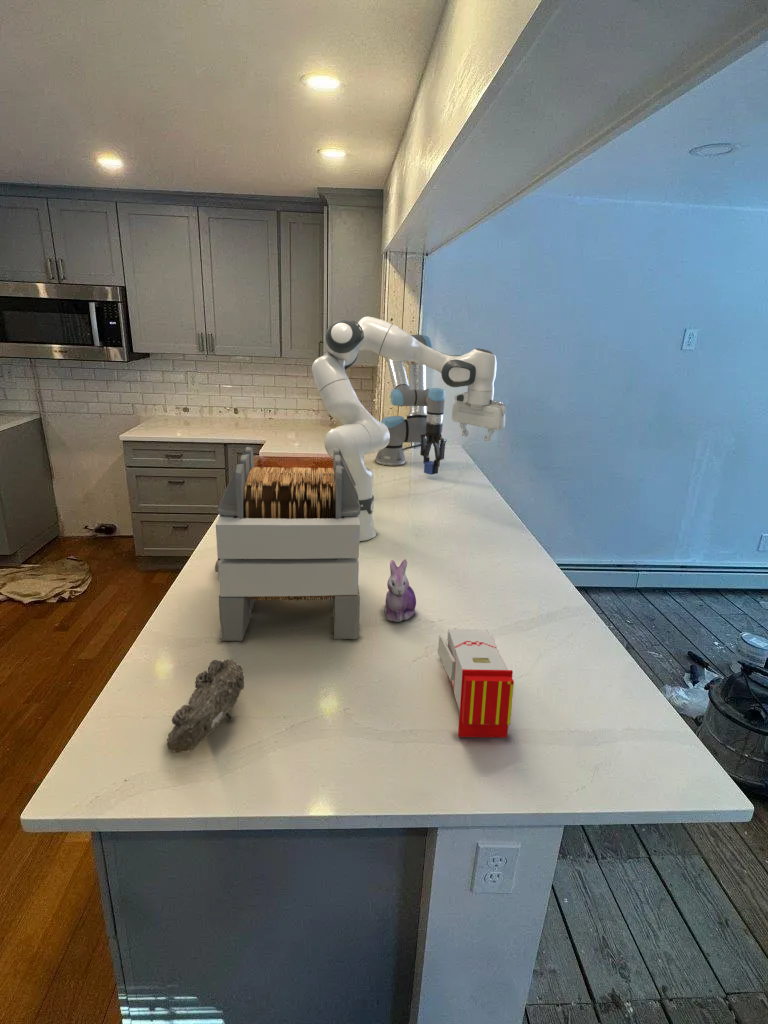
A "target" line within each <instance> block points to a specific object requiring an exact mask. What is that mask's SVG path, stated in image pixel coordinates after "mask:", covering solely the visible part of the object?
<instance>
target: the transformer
mask: <svg viewBox="0 0 768 1024" xmlns="http://www.w3.org/2000/svg"><path fill="white" fill-rule="evenodd" d="M332 460H333V462H332V463H333V464H332V465H333V467H327V468H325V467H317V468H312V467H291V468H285V466H283V467H282V466H281V467H279V466H278V467H277V466H276V467H275V466H271V467H266V466H263V467H260V466H255V461H254V447H253V446H252V447H251V446H245V447H244V450H243V453H241V456H240V459H239V461H238V463H237V464H236V466H235V468H234V470H233V473H232V474H231V477H230V479H229V482H228V483H227V486H226V488H225V490H224V493H223V495H222V497H221V499H220V501H219V504H218V507H217V512H218V513H217V514H218V515H219V517H218V519H217V520H216V523H215V536H216V537H215V539H216V552H217V553H216V554H217V560H218V559H220V561H219V563H218V571H219V572H218V586H219V587H218V588H219V595H218V613H219V614H218V615H219V624H220V635H221V636H220V637H221V638H219V639H220V641H221V642H227V641H234V642H235V641H236V642H237V641H243V639H244V636H245V635H246V632H247V630H248V626H249V625H250V622H251V611H253V609H254V604H255V601H293V600H294V601H309V600H310V601H313V600H314V601H317V600H320V601H321V600H332V609H333V634H334V635H333V636H334V638H333V639H335V640H356V639H358V638H359V637H360V604H361V603H360V601H361V595H360V588H359V587H360V586H359V571H360V570H359V569H360V562H359V557H360V541H359V539H360V522H359V517H358V515H359V514H360V504H359V499H358V494H357V489H356V484H355V482H354V480H353V478H352V475H351V473H350V471H349V469H348V467H347V464H346V462H345V460H344V458H343V456H342V453H341V451H340V449H339V448H334V459H332Z"/></svg>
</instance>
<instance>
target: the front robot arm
mask: <svg viewBox="0 0 768 1024" xmlns="http://www.w3.org/2000/svg"><path fill="white" fill-rule="evenodd" d="M411 335H412V334H410V333H409V332H407V331H406V330H404V329H402V328H401V327H399V326H397V325H396V324H393V323H391V322H388V321H387V320H383V319H380V318H378V317H377V318H376V317H373V316H364V317H361V318H360V319H359V321H358V322H357V321H356V320H344V319H343V320H342V319H341V320H340V319H339V320H335V321H334V322H332V323H331V324H329V326H328V327H327V330H326V333H325V353H324V354H323V355H321V356H319V357H318V358H316V359H314V361H313V362H312V365H311V373H312V378H313V381H314V384H315V387H316V389H317V392H318V394H319V397H320V399H321V401H322V403H323V406H324V408H325V410H326V413H327V414H328V416H330V417H331V418H332V419H334V420H336V421H338V422H340V424H341V425H339V426H336V427H334V428H331V429H330V430H329V431H328V432H327V433H326V434H325V436H324V443H323V444H324V449H325V451H326V453H327V454H328V455H329V457H331V458H332V460H334V448H339V449H340V451H341V453H342V456H343V458H344V460H345V462H346V464H347V467H348V469H349V471H350V473H351V475H352V478H353V480H354V482H355V484H356V489H357V494H358V499H359V504H360V514H359V515H358V517H359V522H360V539H359V542H365V541H368V540H372V539H373V538H375V537H376V535H377V532H376V528H375V523H374V513H373V512H374V509H375V496H374V473H373V471H372V470H371V469H369V468H368V467H366V465H365V460H364V458H365V456H368V455H372V454H375V453H376V454H377V453H378V451H380V450H382V449H383V448H385V447H386V446H387V445H388V443H389V440H390V433H389V430H388V428H387V426H386V425H385V424H384V423H382V422H381V421H380V420H378V419H377V418H376V417H374V416H373V415H372V414H371V413H370V412H369V411H368V410H367V409H366V408H365V406H364V405H363V404H362V403H361V401H360V399H359V397H358V396H357V394H356V391H355V389H354V388H353V385H352V383H351V380H350V378H349V377H348V375H347V372H346V370H347V369H350V367H352V366H353V365H354V364H355V363H356V361H357V359H358V356H359V352H360V351H369V352H372V353H373V354H376V355H378V356H380V357H382V358H384V359H385V358H387V359H390V360H394V361H398V362H406V361H413V362H418V363H421V364H423V365H425V366H426V367H428V368H429V369H432V370H434V371H437V372H439V373H440V374H441V378H442V381H443V382H444V384H446V385H447V386H448V387H451V388H461V387H467V391H466V392H463V393H457V394H455V395H454V402H453V405H452V410H451V419H452V421H453V422H456V423H459V427H460V429H461V436H462V437H468V436H469V433H470V432H469V430H468V429H467V427H466V426H468V425H470V426H475V427H480V428H483V429H487V432H488V433H487V435H484V437H483V438H484V440H483V441H484V442H490V441H491V440H492V439H491V438H492V436H493V435H494V433H495V431H501V430H504V428H505V427H506V412H507V411H506V410H507V407H506V404H504V403H503V402H502V401H498V400H494V394H495V386H494V385H495V384H494V383H495V380H496V377H497V356H496V355H495V353H494V352H493V351H491V350H489V349H485V348H480V347H476V348H473V349H472V350H470V351H468V352H467V353H464V354H462V355H460V354H446V353H444V352H441V351H439V350H437V349H435V348H433V347H432V348H430V347H428V346H426V345H424V344H422V343H421V342H419V341H418V340H417V339H415V338H414V337H413V336H411Z"/></svg>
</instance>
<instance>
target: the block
mask: <svg viewBox="0 0 768 1024" xmlns="http://www.w3.org/2000/svg"><path fill="white" fill-rule="evenodd" d="M433 467H434V460H430V461H428V462H425V464H424V463H423V473H424V474H427V475H431V476H433V475H434V474H433Z"/></svg>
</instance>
